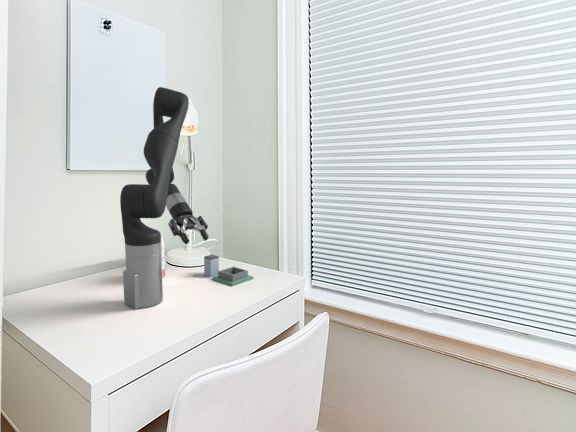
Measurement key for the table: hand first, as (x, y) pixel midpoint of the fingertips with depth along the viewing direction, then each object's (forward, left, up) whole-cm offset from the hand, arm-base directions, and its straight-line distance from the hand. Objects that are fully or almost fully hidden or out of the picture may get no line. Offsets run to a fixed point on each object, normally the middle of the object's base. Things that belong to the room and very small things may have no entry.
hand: (197, 241), depth 122 cm
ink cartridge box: (-16, +3, -12) cm, 20 cm away
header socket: (+2, -17, -11) cm, 20 cm away
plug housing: (0, -8, -11) cm, 14 cm away
